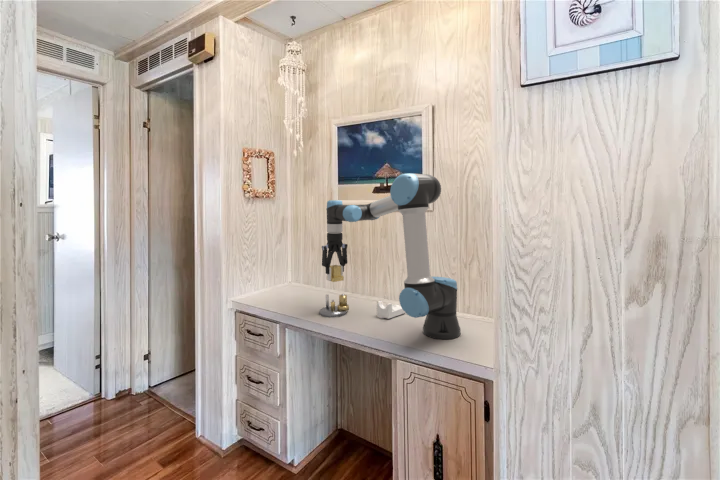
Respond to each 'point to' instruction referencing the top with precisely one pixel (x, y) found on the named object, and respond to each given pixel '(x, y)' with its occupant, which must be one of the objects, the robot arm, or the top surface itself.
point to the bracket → (388, 310)
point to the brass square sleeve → (336, 273)
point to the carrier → (335, 307)
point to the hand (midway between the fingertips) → (334, 279)
